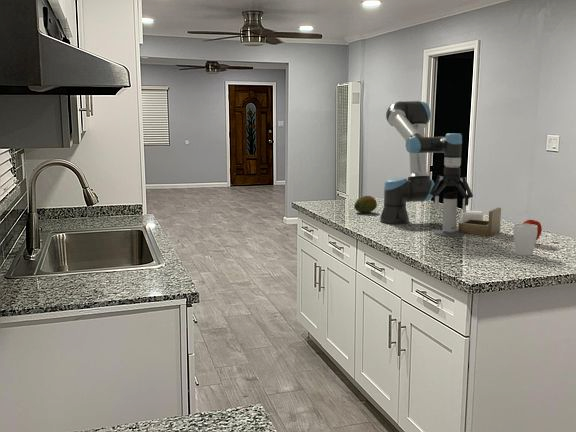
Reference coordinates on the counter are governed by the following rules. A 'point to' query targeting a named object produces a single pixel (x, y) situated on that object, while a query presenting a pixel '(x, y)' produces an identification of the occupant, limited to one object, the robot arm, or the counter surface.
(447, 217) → the travel mug
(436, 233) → the mat
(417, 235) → the counter surface
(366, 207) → the fruit
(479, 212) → the mug
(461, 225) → the brown wooden open box
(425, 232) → the counter surface
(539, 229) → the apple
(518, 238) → the cup
